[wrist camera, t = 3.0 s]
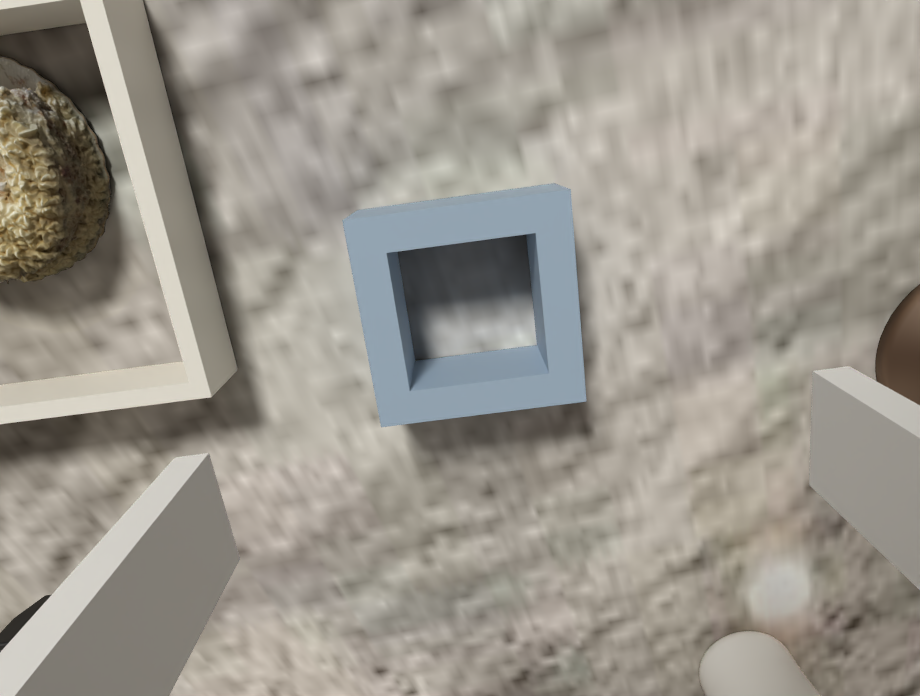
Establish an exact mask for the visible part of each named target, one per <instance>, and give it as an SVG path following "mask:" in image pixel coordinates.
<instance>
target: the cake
mask: <svg viewBox="0 0 920 696" xmlns="http://www.w3.org/2000/svg"><path fill="white" fill-rule="evenodd" d="M86 120H87V119H86V118H85V117H84V115H83V114H82V113H80V112H79V111H77V108H76V107H75V105H74V103H73V102H72V101H71V100H70V99H69V98H68V97H67V96H65V95H64V94H63V93H62V92H60V91H59V89H58V88H57V86H56V85H55V84H53V83H52V82H50V81H49V80H47V79H44V78H43V77H42V76H39V74H38V73H37V72H36V71H35V70H33V69H32V68H30V67H26V66H24V65H21V64H20V63H18V62H17V61H16V60H14V59H12V58H7V57H3V56H0V283H2V282H3V281H4V280H6V281H7V283H8V284H9V282H8V280H10V279H15V280H16V279H18V280H21V281H22V282H23V283H24V282H27V281H37V280H42V279H43V278H44V277H45V276H49V275H53V274H54V275H56V274H58V273H59V272H60V271H62V270H66V268H71V267H72V266H73V264H74V263H75V262H77V260H79V261H80V260H82V259H84V258H85V256H86V254H87V253H89V252H91V251H92V250H93V249H94V248H95V245H96V244H97V241H98V239H99V237H101V236H102V235H103V233H104V232H105V231H104V230H105V228H104V225H105V222H106V221H105V220H106V219H107V218H108V215H109V206H108V204H110V199H111V198H110V197H109V196H110V195H112V193H111V190H110V181H109V180H110V177H109V173H108V171H107V169H106V166H105V164H106V163H105V162H106V161H105V157H104V154H103V152H102V150H101V149H100V148H99V145H98V144H97V143H98V142H97V139H98V138H97V136H96V134H95V133H94V132H93V130H92V129H91V128H90V127H89V125H88V122H87V121H86Z"/></svg>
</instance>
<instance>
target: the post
mask: <svg viewBox="0 0 920 696" xmlns="http://www.w3.org/2000/svg"><path fill="white" fill-rule="evenodd" d="M876 376H877V382H879V383H880V384H882V385H884V386H886V387H888V388H889V389H891V390H893V391H895V392H897V393H898V394H900V395H902V396H904V397H906V398H907V399H909V400H911V401H913V402H915V403H916V404H918V405H920V284H919V285H918V286H917V287H916V288H915V289H914V290H913V291H911V292H910V293H909V294H908V295H907V296H906V297H905V299H904V300H903V301H902V302H901V303H900V304H899V306H898V307H897V308H896V310H895V311H894V312H893V314H892V315H891V317H890V319H889V321H888V322H887V324H886V326H885V328H884V331H883V333H882V335H881V338H880V342H879V345H878V349H877V355H876Z"/></svg>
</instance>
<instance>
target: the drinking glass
mask: <svg viewBox="0 0 920 696" xmlns="http://www.w3.org/2000/svg"><path fill="white" fill-rule="evenodd" d="M699 679H700V684H701V687H702V689H703V692H704V694H705V696H821V695H820V693H819V692H818V691H817V690H816V688H815V687H814V686H813V684H812V683H811V682H810V681H809V679H808V678H807V677H806V675H805V674H804V673H803V671H802V670H801V668H800V667H799V665H798V664H797V662H796V661H795V659H794V658H793V656H792V655H791V653H790V652H789V651H788V649H787V648H786V647H785V646H784V645H783V644H782V643H781V642H780V641H779V640H777V639H776V638H774V637H772V636H770V635H768V634H765V633H762V632H757V631H741V632H736V633H732V634H729V635H727V636H724V637H723V638H721V639H719V640H718V641H716V642H715V643H714V644H712V645H711V646H710V647H709V648H708V650H707V651H706V652H705V654H704V656H703V658H702V660H701V663H700V667H699Z"/></svg>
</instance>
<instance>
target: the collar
mask: <svg viewBox="0 0 920 696" xmlns="http://www.w3.org/2000/svg"><path fill="white" fill-rule="evenodd" d="M342 221H343V226H344V231H345V237H346V242H347V247H348V253H349V258H350V263H351V269H352V274H353V279H354V285H355V290H356V295H357V301H358V306H359V311H360V317H361V322H362V327H363V333H364V338H365V343H366V349H367V354H368V359H369V365H370V370H371V375H372V381H373V386H374V391H375V397H376V402H377V407H378V413H379V418H380V423H381V427H387V426H395V425H403V424H411V423H419V422H427V421H435V420H443V419H451V418H459V417H467V416H475V415H483V414H491V413H499V412H507V411H515V410H523V409H531V408H539V407H547V406H555V405H563V404H571V403H579V402H587V401H586V388H585V375H584V361H583V348H582V335H581V322H580V308H579V295H578V282H577V269H576V255H575V242H574V229H573V216H572V202H571V189H568V188H566V187H563V186H560V185H558V184H555V183H554V184H547V185H539V186H532V187H525V188H517V189H510V190H503V191H495V192H488V193H481V194H473V195H466V196H459V197H451V198H444V199H437V200H429V201H422V202H415V203H407V204H400V205H393V206H385V207H378V208H371V209H363V210H357V211H356V212H354V213H353V214H351V215H350V216H348V217H347V218H345V219H344V220H342ZM525 234H526V238H527V248H528V258H529V268H530V278H531V288H532V298H533V308H534V319H535V329H536V339H537V345H535V346H527V347H519V348H511V349H503V350H496V351H488V352H480V353H472V354H464V355H457V356H449V357H441V358H433V359H425V360H418V361H415V356H414V350H413V344H412V338H411V331H410V325H409V319H408V313H407V307H406V301H405V295H404V289H403V282H402V276H401V270H400V264H399V258H398V251H405V250H413V249H420V248H428V247H435V246H443V245H450V244H458V243H465V242H472V241H480V240H487V239H495V238H502V237H510V236H517V235H525Z"/></svg>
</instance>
